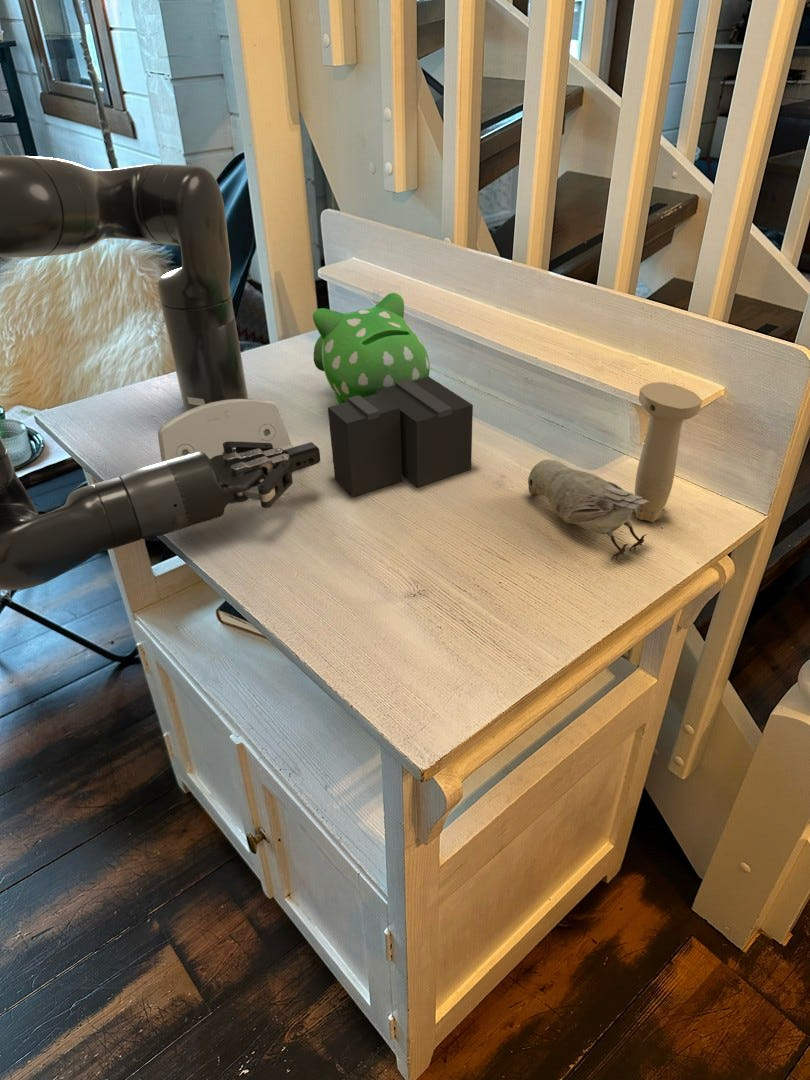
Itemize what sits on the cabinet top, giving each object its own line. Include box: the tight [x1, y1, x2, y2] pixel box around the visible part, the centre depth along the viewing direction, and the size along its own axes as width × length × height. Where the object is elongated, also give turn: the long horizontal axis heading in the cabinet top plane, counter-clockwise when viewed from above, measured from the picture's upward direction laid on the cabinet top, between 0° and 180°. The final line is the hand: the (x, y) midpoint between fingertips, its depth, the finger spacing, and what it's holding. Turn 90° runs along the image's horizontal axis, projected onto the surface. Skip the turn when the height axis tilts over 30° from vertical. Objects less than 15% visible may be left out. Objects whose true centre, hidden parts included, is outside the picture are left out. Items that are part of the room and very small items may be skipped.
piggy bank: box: [312, 292, 431, 405], centre depth 107 cm, size 14×18×15 cm
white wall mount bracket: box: [157, 398, 293, 462], centre depth 96 cm, size 17×5×10 cm, turn 117°
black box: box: [327, 393, 403, 498], centre depth 92 cm, size 5×7×10 cm
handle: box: [633, 381, 703, 523], centre depth 82 cm, size 5×6×15 cm
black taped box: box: [375, 376, 474, 488], centre depth 95 cm, size 10×8×9 cm
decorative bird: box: [527, 459, 649, 562], centre depth 83 cm, size 5×16×7 cm, turn 34°
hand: (316, 451), depth 89 cm, fingers closed
